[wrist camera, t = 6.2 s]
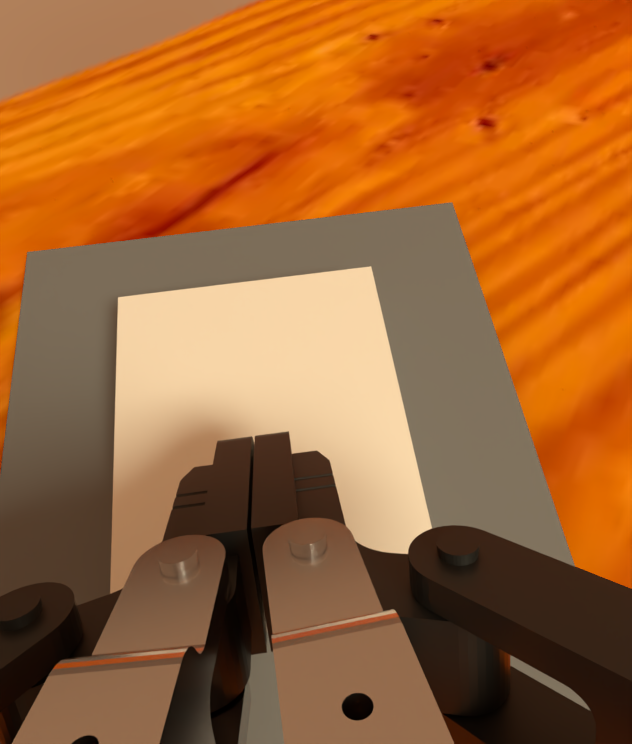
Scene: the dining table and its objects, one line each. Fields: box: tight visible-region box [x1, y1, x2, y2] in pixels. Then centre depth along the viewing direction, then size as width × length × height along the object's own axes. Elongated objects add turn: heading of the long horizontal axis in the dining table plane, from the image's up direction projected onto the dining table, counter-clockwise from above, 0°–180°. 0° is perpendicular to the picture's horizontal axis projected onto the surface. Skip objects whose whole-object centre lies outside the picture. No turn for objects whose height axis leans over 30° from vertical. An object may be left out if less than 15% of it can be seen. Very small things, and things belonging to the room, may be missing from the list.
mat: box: [0, 203, 590, 744], centre depth 17 cm, size 20×16×1 cm
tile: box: [110, 266, 432, 632], centre depth 16 cm, size 8×2×10 cm
